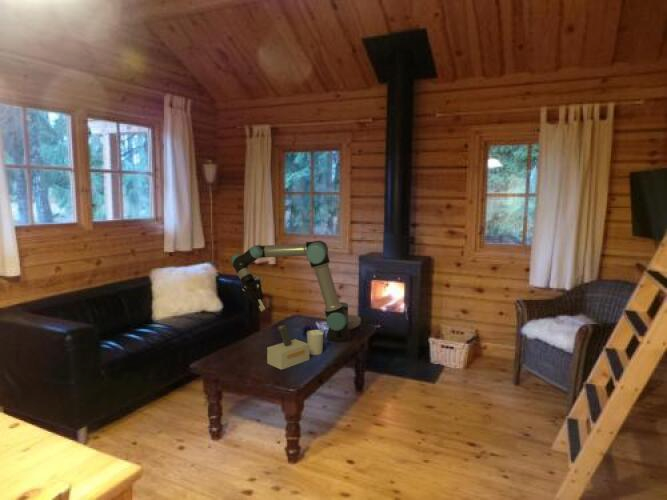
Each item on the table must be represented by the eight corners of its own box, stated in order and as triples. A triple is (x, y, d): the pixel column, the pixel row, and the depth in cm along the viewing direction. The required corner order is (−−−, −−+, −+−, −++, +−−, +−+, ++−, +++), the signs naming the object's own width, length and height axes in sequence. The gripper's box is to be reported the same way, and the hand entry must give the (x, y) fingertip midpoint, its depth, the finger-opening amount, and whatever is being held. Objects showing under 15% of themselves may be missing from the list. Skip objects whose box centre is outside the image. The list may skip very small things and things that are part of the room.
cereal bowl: (364, 326, 317) (365, 316, 316) (353, 333, 303) (353, 322, 302) (343, 322, 326) (343, 313, 325) (331, 329, 312) (331, 318, 311)
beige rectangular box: (295, 354, 265) (295, 338, 264) (309, 359, 257) (309, 344, 255) (267, 363, 251) (267, 347, 250) (281, 369, 242) (281, 353, 241)
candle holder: (317, 356, 261) (317, 336, 260) (303, 353, 266) (303, 333, 265) (326, 351, 270) (326, 331, 268) (312, 348, 275) (312, 328, 273)
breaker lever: (290, 344, 255) (284, 325, 258) (293, 343, 254) (286, 323, 256) (283, 346, 252) (277, 327, 254) (286, 345, 250) (279, 325, 252)
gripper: (252, 279, 281) (269, 311, 272) (234, 282, 272) (251, 315, 263) (257, 272, 277) (275, 304, 268) (239, 275, 268) (256, 308, 258)
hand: (263, 310), depth 265 cm, fingers closed
